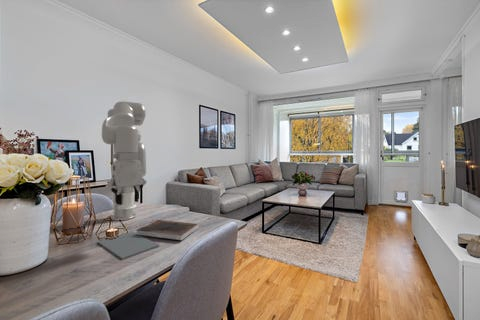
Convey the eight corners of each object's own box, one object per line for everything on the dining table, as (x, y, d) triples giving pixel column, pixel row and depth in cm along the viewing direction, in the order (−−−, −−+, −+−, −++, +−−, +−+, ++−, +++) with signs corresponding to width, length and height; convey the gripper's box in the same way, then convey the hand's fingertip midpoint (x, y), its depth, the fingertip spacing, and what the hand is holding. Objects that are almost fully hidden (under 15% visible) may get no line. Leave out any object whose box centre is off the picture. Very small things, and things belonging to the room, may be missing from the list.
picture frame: (136, 235, 96) (181, 241, 91) (136, 229, 96) (181, 235, 91) (158, 224, 112) (198, 228, 107) (158, 219, 112) (198, 223, 107)
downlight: (118, 205, 91) (118, 181, 90) (137, 203, 93) (137, 180, 92) (115, 211, 83) (114, 185, 82) (135, 209, 86) (135, 184, 85)
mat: (97, 242, 89) (97, 241, 89) (132, 233, 100) (132, 231, 100) (122, 259, 76) (122, 258, 76) (159, 246, 87) (159, 244, 87)
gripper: (107, 158, 78) (107, 208, 78) (152, 157, 91) (152, 200, 92) (98, 157, 82) (99, 205, 83) (143, 156, 96) (143, 198, 97)
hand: (127, 202), depth 88 cm, fingers closed on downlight, 5 cm apart
